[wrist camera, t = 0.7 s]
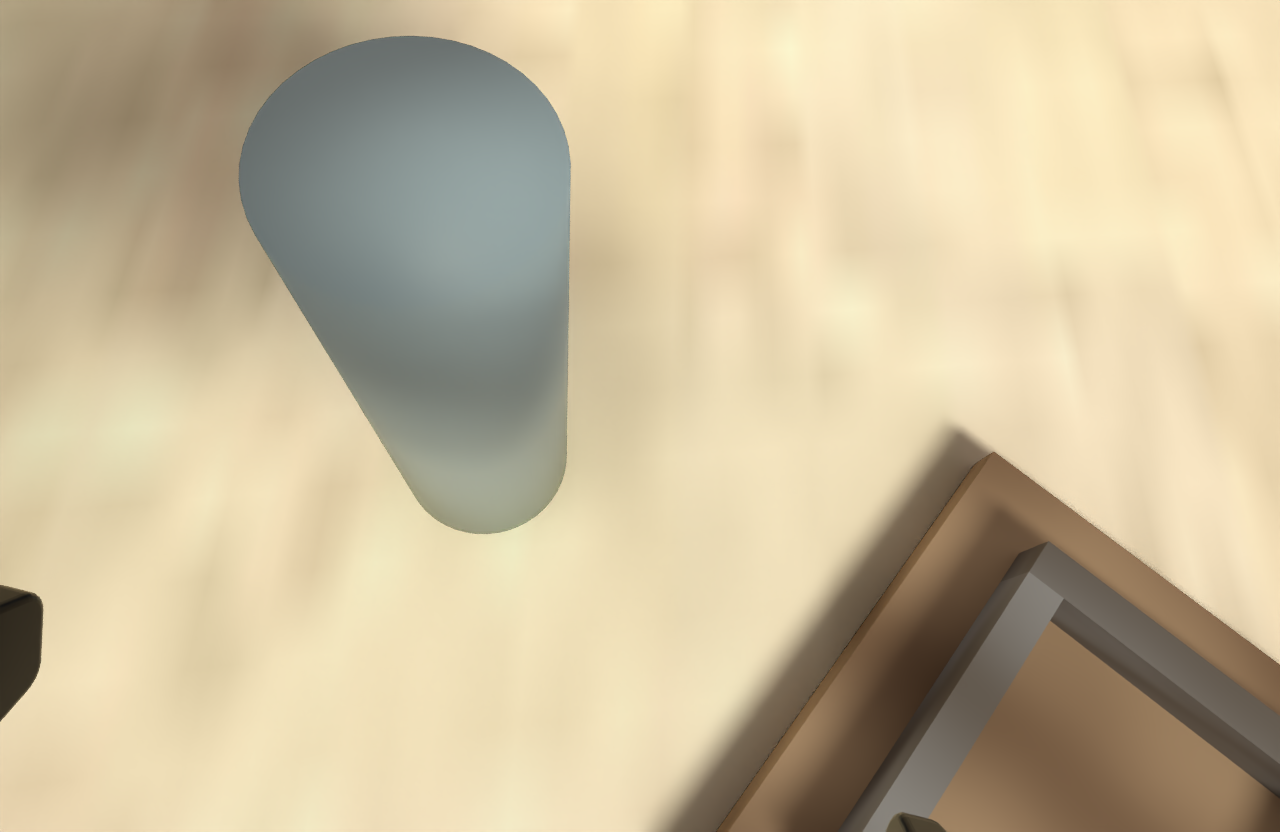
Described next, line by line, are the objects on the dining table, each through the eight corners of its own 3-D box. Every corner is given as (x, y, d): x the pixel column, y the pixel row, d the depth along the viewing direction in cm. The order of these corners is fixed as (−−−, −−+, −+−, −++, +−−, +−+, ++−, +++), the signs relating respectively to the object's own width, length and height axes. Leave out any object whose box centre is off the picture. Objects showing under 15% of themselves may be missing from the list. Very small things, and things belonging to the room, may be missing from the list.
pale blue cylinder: (426, 555, 23) (273, 347, 11) (388, 405, 24) (213, 70, 12) (586, 506, 24) (612, 261, 12) (540, 364, 25) (520, 11, 13)
